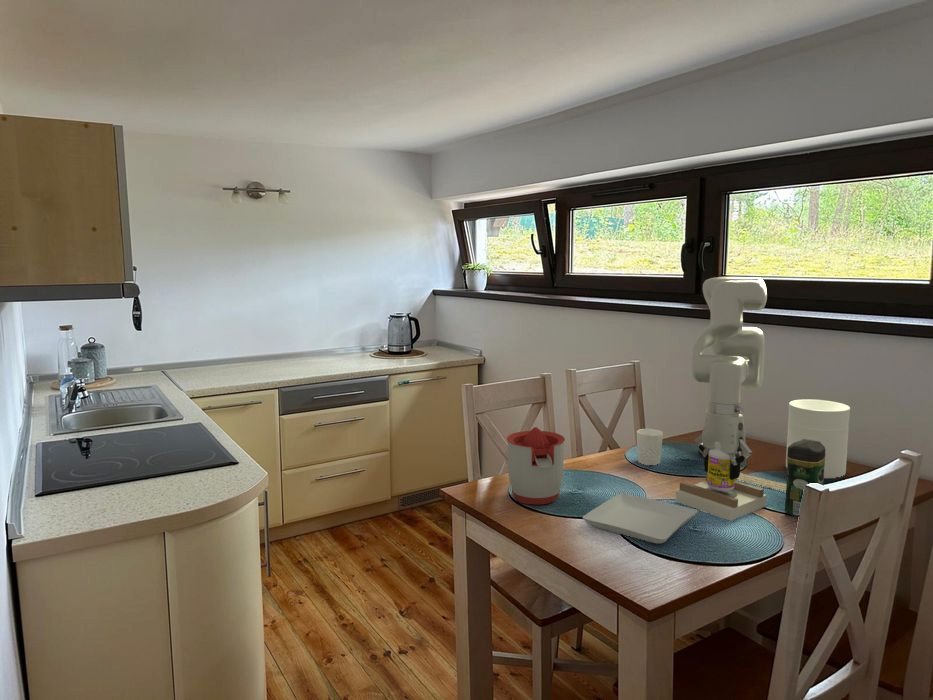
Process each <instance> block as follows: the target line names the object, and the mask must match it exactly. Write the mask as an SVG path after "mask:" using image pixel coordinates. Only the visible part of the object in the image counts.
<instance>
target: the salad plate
mask: <svg viewBox="0 0 933 700" xmlns="http://www.w3.org/2000/svg"><path fill="white" fill-rule="evenodd" d="M698 513H699V510H697V509H694V508H691V507H688V506H683V505H682V506H681V505H678V504H673V503H670V502H665V501H661V500H656V499H652V498H651V499H650V498H647V497H644V496H643V497H642V496H637V495H633V494H629V493H623V492H621V493H618V494H615V495H614V496H612V497H611V498H609V499H608V500H606V501H605V502H603V503H602V504H600V505H598V506H597V507H595V508H593V509H592V510H590V511H589V512H587V513H585V514H584V515H583V516H582V519H583V521H584V522H585V523H586V524H588V525H590V526H592V527H594V528H598V529H600V530H604V531H609V532H612V533H615V534H619V535H622V534H623V535H622V536H625V535H626V537H629V536H630V537H629V538H633V537H634V538H633V539H636V538H637V539H636V540H640V539H641V541H644V540H645V542H647V543H653V544H663V543H665V542H666V541H668V539H669V538H670V537H671V536H672V535H673V534H674V533H675V532H676V531H677V530H679V529H680V528H681V527H683V526H684V525H685V524H686V523H688V522H689V521H690V520H692V519H693V518H695V516H696V515H697V514H698Z"/></svg>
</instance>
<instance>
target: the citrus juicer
mask: <svg viewBox="0 0 933 700" xmlns="http://www.w3.org/2000/svg"><path fill="white" fill-rule="evenodd" d="M565 439H566V438H565V436H563V435H562V434H559V433H557V432H554V431H553V432H552V431H547V430H546V431H545V430H541V429H540V428H538V427H537V426H536V427H533V428H532V429H531V430H524V431H517V432H513V433H510V434H509V435H508V436H507V438H506V441H507V472H508V479H509V484H510V488H511V491H512V494H513V497H514V498H515V500H517V501H518V502H520V503H523V504H525V505H547V504H551V502H552V503H554V502H555V501H556V500H557V499H558V498H559V495H560V492H561V488H562V484H563V480H564V473H565V472H564V467H565V466H564V465H565V464H564V461H565V460H564V459H565V458H564V457H565V455H564V454H565V453H564V451H565V449H564V448H565V447H564V443H565ZM553 501H554V502H553Z"/></svg>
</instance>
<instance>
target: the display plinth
mask: <svg viewBox="0 0 933 700" xmlns="http://www.w3.org/2000/svg"><path fill="white" fill-rule="evenodd" d="M707 478H708V472H706V473H705V481H701V482H697V483H695V484H692V483H689V482H686V481H681V482H679V489H678V490H675V503H677V502H679V503H678V504H680V503H681V504H680V505H683V504H685V505H684V506H686V505H688V506H687V507H689V506H691V507H694V508H696V510H697V509H699V510H698V511H700V510H702V511H701V512H703V511H705V512H704V513H706V512H707V513H706V514H708V513H710V514H709V515H711V514H713V515H712V516H714V515H715V516H714V517H717V516H718V518H720V517H721V518H720V519H722V518H724V519H723V520H725V519H727V520H726V521H728V520H730V521H729V522H732V521H734V520H736V519H735V518H737V519H739V518H741V517H743V516H742V515H744V516H746V515H748V514H747V513H749V514H751V513H753V512H755V511H758V510H760V509H763V508H765V507H766V506H767V494H764V493H765V491H764V488H763V487H760V486H756V485H752V484H748V483H744V482H740V481H736V480H735V485H734V489H733V490H731V491H717V490H713V489H711V488H709V487H708V485H707ZM691 507H690V508H691ZM694 508H693V509H694ZM745 514H746V515H745ZM740 516H741V517H740ZM738 517H739V518H738ZM733 519H734V520H733ZM731 520H732V521H731Z"/></svg>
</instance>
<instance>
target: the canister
mask: <svg viewBox="0 0 933 700" xmlns="http://www.w3.org/2000/svg"><path fill="white" fill-rule="evenodd" d="M850 413H851V407H850V406H849V405H847V404H845V403H841V402H837V401H831V400H823V399H808V398H807V399H795V400H791V401H790V402H788V416H787V417H788V420H787V432H786V433H787V434H786V435H787V437H786V453H785V455H786V456H785V457H786V458H785V467H786V469H787V453H788V447H789V446H790V445H791V444H793V443H795V442H797V441H800V440H803V439H807V440H813V441H819V442H820V443H821V444H822V445H823V446H824V447H825V466H824V479H837V478H836V477H839V478H842V477H844V476H845V475H846V472H847V456H848V447H849V446H848V445H849V429H850V425H849V423H850V416H851V415H850ZM843 475H844V476H843ZM841 476H842V477H841Z"/></svg>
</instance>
